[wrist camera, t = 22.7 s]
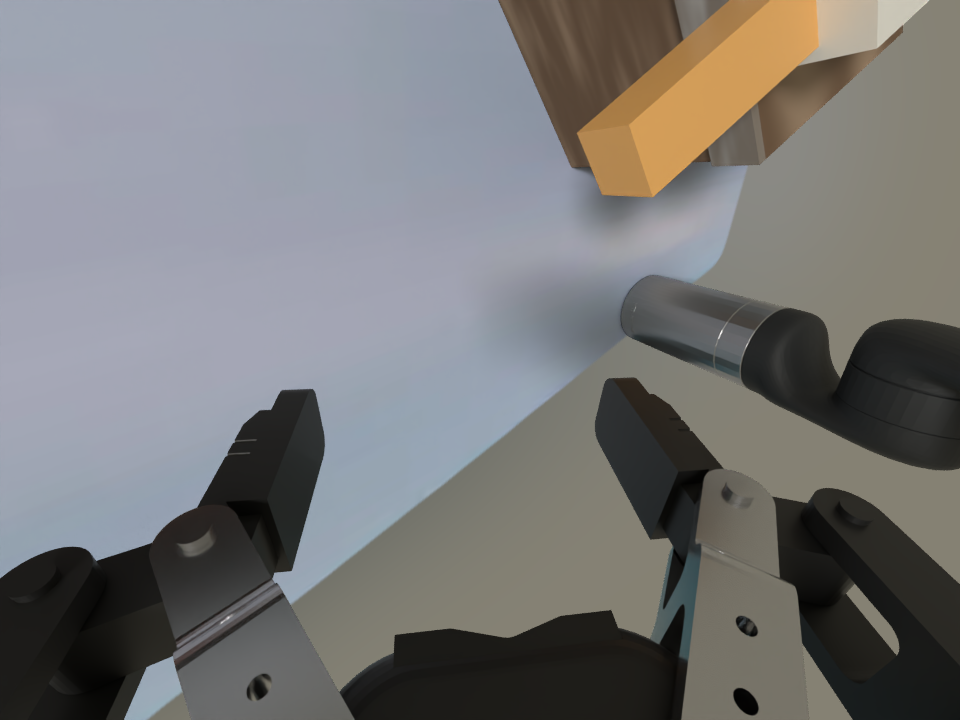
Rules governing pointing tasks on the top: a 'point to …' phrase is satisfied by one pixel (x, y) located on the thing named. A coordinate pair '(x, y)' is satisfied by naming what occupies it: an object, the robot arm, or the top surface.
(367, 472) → the top surface
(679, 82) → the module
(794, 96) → the rail stand
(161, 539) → the robot arm
